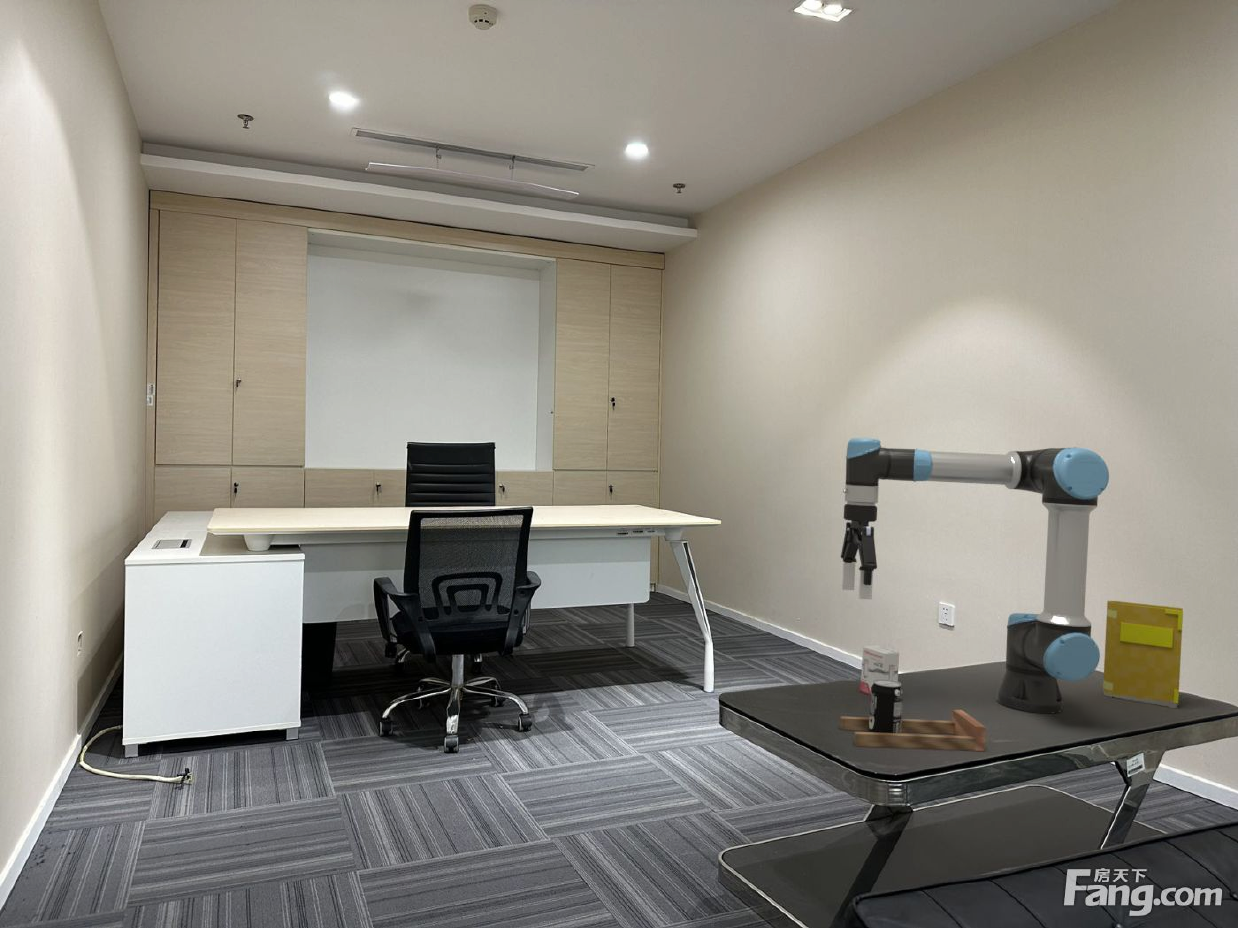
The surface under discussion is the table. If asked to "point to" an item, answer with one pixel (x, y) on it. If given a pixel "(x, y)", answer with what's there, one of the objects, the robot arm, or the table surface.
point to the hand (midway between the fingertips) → (856, 594)
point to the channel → (962, 726)
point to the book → (1143, 651)
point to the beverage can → (886, 706)
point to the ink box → (878, 666)
